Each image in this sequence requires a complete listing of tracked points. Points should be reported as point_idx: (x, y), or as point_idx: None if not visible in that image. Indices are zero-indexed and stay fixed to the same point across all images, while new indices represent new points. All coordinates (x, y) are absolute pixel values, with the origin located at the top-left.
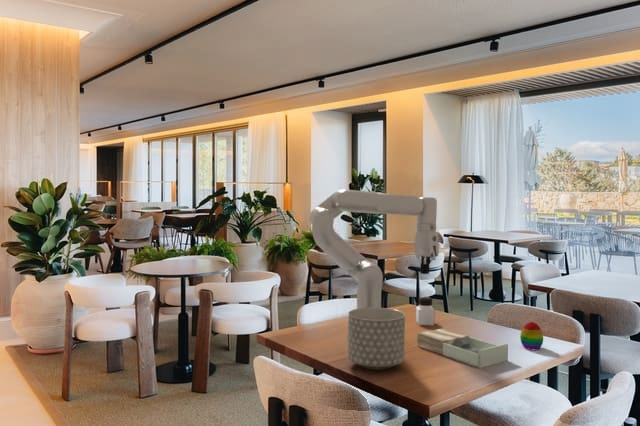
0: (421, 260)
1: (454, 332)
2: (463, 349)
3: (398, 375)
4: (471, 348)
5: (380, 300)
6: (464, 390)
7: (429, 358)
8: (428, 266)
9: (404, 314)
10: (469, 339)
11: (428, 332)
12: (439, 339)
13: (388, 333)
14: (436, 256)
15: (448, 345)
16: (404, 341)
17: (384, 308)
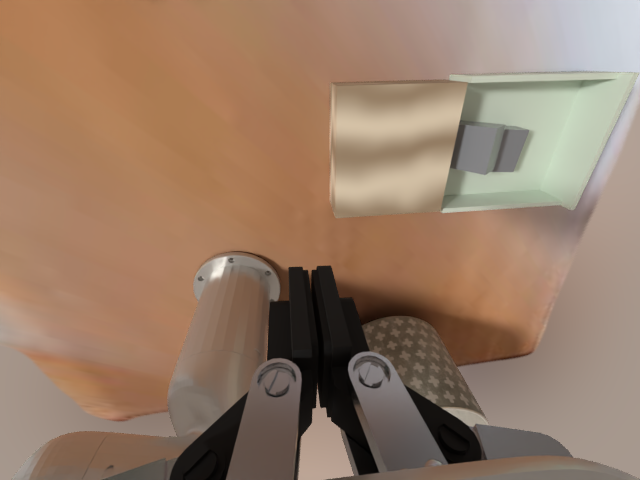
0: (298, 462)
1: (406, 95)
2: (512, 206)
3: (438, 333)
4: (504, 147)
5: (252, 372)
6: (554, 291)
7: (419, 240)
8: (364, 344)
9: (477, 414)
10: (499, 133)
11: (349, 183)
12: (423, 207)
13: (464, 417)
14: (587, 468)
15: (461, 211)
16: (448, 355)
17: None
